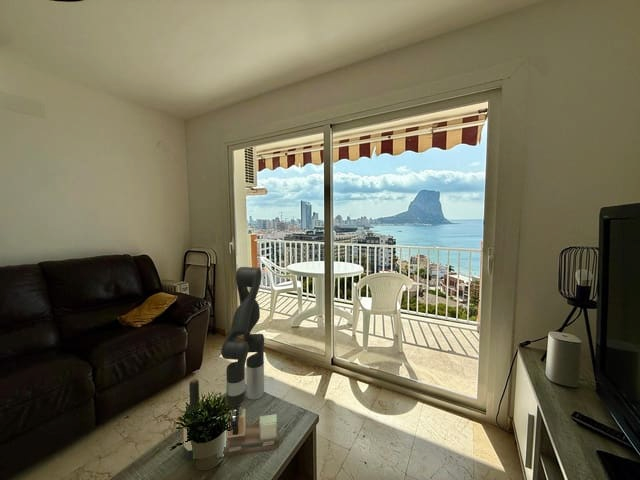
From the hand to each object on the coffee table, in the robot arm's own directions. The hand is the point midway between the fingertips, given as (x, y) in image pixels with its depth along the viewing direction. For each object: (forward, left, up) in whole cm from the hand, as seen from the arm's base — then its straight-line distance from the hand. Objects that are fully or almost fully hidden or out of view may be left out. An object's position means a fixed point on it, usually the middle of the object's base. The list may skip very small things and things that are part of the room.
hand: (236, 428), depth 104 cm
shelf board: (-2, +5, -8) cm, 10 cm away
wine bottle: (-1, -16, -8) cm, 18 cm away
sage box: (0, +13, -6) cm, 14 cm away
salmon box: (0, 0, -2) cm, 2 cm away
